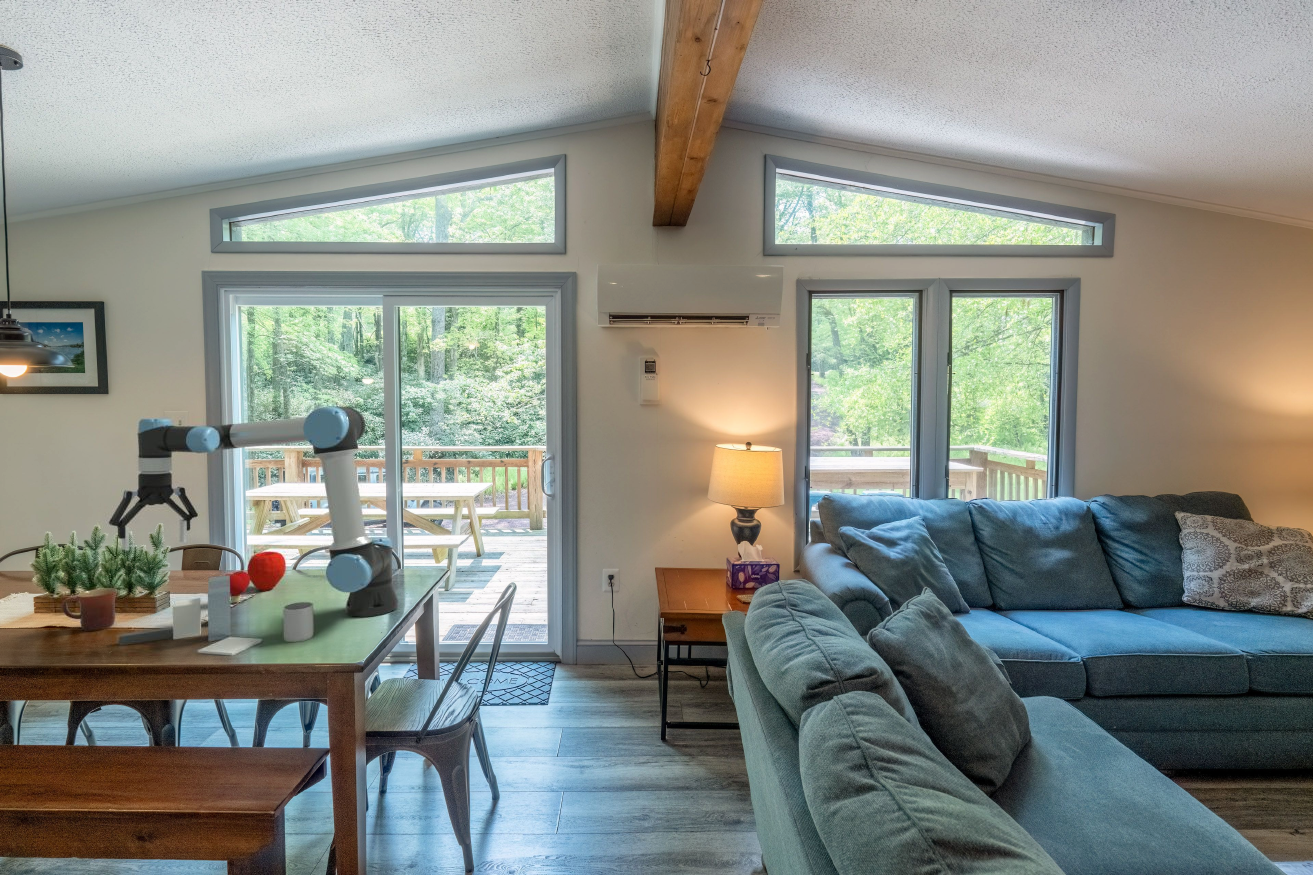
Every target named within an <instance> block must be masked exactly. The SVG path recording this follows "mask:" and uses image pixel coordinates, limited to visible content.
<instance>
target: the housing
mask: <svg viewBox="0 0 1313 875" xmlns="http://www.w3.org/2000/svg"><path fill="white" fill-rule="evenodd" d="M207 617H208V618H207V620H208V621H207V624H208V626H207V629H208V642H214V641H221V640H223V639H226V638H228V637H232V634H231V632H232V629H231V628H232V627H231V625H232V624H231V620H232V619H231V618H232V617H231V596H230V575H229V576H225V575H221V576H213V577H208V587H207Z"/></svg>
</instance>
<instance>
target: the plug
mask: <svg viewBox="0 0 1313 875" xmlns="http://www.w3.org/2000/svg"><path fill="white" fill-rule="evenodd" d="M201 599H202V598H201V597H198V598H190V599H183V600H181V599H180V600H177V601H176V600H175V601H173V605H172V626H168V627H160V628H154V629H146V630H140V631H132V632H127V633H120V634H119V635H118V646H126V645H134V644H140V643H146V642H153V641H159V640H161V641H162V640H166V639H171V638H172V640H178V639H185V638H191V637H199V636H201V632H202V626H201V625H202V611H201V610H202V609H201V607H202V606H201V601H202V600H201Z"/></svg>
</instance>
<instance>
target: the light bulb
mask: <svg viewBox="0 0 1313 875" xmlns="http://www.w3.org/2000/svg"><path fill="white" fill-rule="evenodd" d="M229 575H230V603H233V604H238V603H239V602H240V601H241V595H242V594H243V593H245V591H246V590H247V589H248V587H249V586H250V583H251V581H250V577H249V575H248V572H246V571H244V570H237V571H234V572H233V573H229V574H228V573H227V574H225V575H224V576H229Z"/></svg>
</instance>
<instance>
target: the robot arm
mask: <svg viewBox="0 0 1313 875" xmlns="http://www.w3.org/2000/svg"><path fill="white" fill-rule="evenodd" d="M366 429H367V428H366V420H365V417H364V416H363V414H361V412H360V411H359V410H357V409H356V408H353V407H349V406H335V405H331V406H330V405H327V406H322V407H318V408H316V409H314V410H312V411H311V412H310V413H309V414H308V415H307V416H305V417H295V418H283V419H273V420H261V421H252V422H250V421H249V422H241V423H240V422H239V423H233V424H232V423H231V424H230V423H229V424H219V425H218V424H217V425H194V426H193V425H190V426H189V425H185V426H184V425H183V426H181V425H179V426H178V425H173V421H172V420H171V418H152V417H150V418H141V419H140V420H139V422H138V430H137V440H138V442H137V443H138V444H137V445H138V455H137V456H138V457H137V459H138V460H137V461H138V462H137V463H138V467H137V468H138V472H140V473H138V478H137V479H138V482H137V483H138V484H137V485H138V486H137V487H138V488H137V490H136V491H133V490H124V491H123V495H122V499H121V501H120V503H119V504H118V507H117V508H116V510H115V511H114V513H113V515H112V516H111V518H110V520H109V521H108V524H109V525H110V526H113V527H117V538H118V539H120V540H121V550H123V551H130V526H127V525H128V524H129V523H130V522H131V521H132V520H133V519H134V518H135V516H137V514H139V513H140V511H141V510H142V509H144V508H146V506H155V505H164V504H166V505H167V506H168V507H169V508H171V509H172V510H173V511H174V512H175V513H176V514H178V516H180V517H181V518H182V519H179V543H182V544H185V543H188V542H187V541H188V540H187V539H188V536H187V533H188V532H189V531H191V520H192V519H195V518H197V517H198V516H199V515H198V514H199V513H197V511H196V509H195V507H194V506H193V504H192V502H191V501H190V499H189V498H188V496H187V495H186V488H185V487H184V486H183V487H182V486H178V487H174V488H173V487H172V486H173V482H172V480H173V479H172V478H173V473H171V471H172V470H173V464H172V463H173V462H172V461H173V459H172V458H173V456H172V455H173V453H176V452H177V453H196V454H206V453H212V452H214V451H223V450H224V451H225V450H232V449H240V448H251V447H261V446H272V445H283V444H284V445H285V444H286V445H287V444H296V443H305V442H309V444H310V445H311V446H312V450H313V455H314V457H316V458H317V459H318V460H320V461H321V467H322V468H321V469H322V474H323V481H324V482H323V483H324V488H325V493H326V499H327V505H328V506H327V508H328V512H329V520H330V525H331V531H332V538H333V541H332V543H331V545H329V548H328V552H329V557H330V560H329V562H328V564H327V566H326V568H325V577H326V580H327V581H328V583H329V585H330V586H331V587H332V588H334V589H336V590H337V591H338V592H342V593H349V595H348V598H347V601H346V604H345V613H346V614H347V615H348V616H351V617H361V618H362V617H363V618H364V617H374V616H380V615H381V614H382V615H385V613H386V614H388V612H389V613H392V612H393V611H392V610H394V609H396V608H397V607H398V608H399V599H398V596H397V594H396V591H395V588H394V585H393V545H392V540H391V538H390V537H388V536H386V537H385V536H371V537H370V536H367V534H366V529H365V521H364V515H363V509H362V503H361V502H362V501H361V495H360V489H359V483H358V476H357V469H356V464H355V455H356V454H357V452H358V451H359V446H358V441H359V440H361V438H362V437H363V435H364V434H365V432H366ZM173 494H175V495H176V496H177V497H178V498H179V500H180V501H181V503H182V504H183V506H184V508H185V510H186V511H187V512H186V511H185V510H183V509H182V507H180V506H179V505H178V504H177V503H176V502H175V501H174V500H173V499H172V498H171V496H172V495H173ZM135 497H138V500H137V501H136V503H135V505H134V506H132V507H131V508H130V510H129V511H128V512H127V513H126V514H125V512H126V511H127V509H128V507H129V505H130V503H131V502H132V499H134V498H135ZM123 515H124V516H123ZM398 608H397V609H398ZM397 609H396V610H397ZM391 611H392V612H391ZM394 611H395V610H394Z"/></svg>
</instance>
